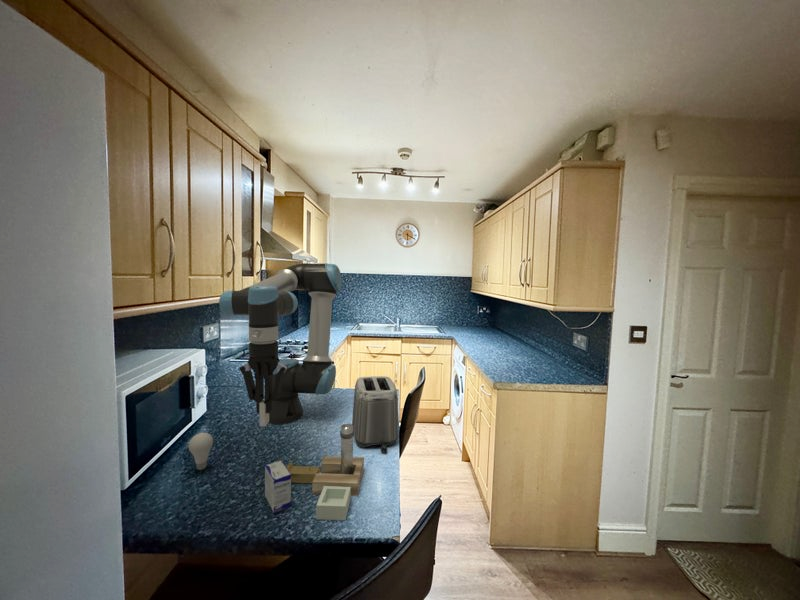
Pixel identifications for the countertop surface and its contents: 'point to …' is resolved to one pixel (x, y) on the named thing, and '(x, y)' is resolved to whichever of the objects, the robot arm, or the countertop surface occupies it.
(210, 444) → the lightbulb
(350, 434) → the grey peg
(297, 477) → the yellow brown block
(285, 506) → the box
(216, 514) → the countertop surface
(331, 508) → the tray
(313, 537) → the countertop surface
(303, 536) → the countertop surface
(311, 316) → the robot arm
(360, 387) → the toaster
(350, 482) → the socket block
